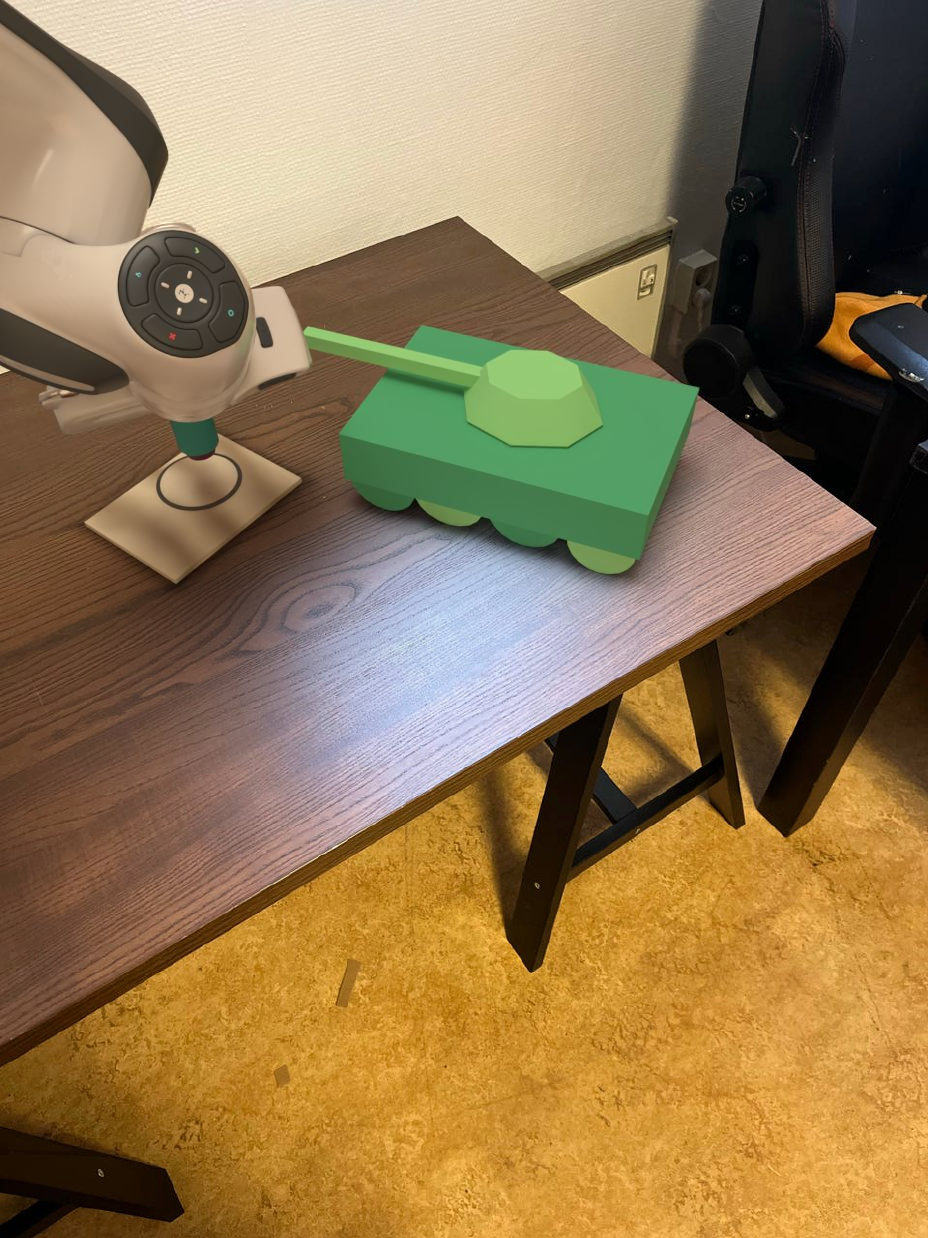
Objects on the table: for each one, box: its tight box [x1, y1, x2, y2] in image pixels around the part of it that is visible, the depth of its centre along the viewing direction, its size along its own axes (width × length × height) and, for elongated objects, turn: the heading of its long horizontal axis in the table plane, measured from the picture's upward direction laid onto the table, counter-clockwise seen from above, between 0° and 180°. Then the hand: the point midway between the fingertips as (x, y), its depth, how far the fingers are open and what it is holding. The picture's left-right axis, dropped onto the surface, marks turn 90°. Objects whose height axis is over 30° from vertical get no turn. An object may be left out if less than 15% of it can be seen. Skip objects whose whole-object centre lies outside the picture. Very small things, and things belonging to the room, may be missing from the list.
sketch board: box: [83, 432, 303, 585], centre depth 87 cm, size 16×12×1 cm
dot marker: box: [169, 417, 219, 461], centre depth 81 cm, size 4×4×11 cm
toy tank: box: [303, 324, 700, 575], centre depth 85 cm, size 18×12×35 cm
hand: (183, 392), depth 81 cm, fingers closed on dot marker, 3 cm apart
